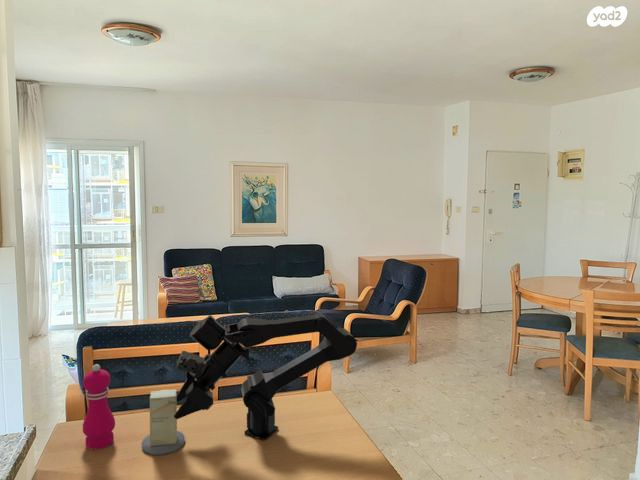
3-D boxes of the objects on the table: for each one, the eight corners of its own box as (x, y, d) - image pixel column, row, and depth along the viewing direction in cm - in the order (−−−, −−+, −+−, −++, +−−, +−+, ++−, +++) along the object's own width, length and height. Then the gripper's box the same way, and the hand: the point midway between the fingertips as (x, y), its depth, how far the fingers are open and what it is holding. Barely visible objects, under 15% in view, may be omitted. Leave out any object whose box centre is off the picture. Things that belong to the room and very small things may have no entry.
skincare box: (150, 446, 114) (148, 398, 113) (151, 437, 118) (149, 390, 117) (177, 443, 116) (176, 395, 114) (177, 434, 120) (176, 388, 119)
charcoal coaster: (193, 438, 119) (193, 435, 119) (163, 459, 111) (163, 456, 110) (163, 429, 124) (163, 426, 124) (132, 448, 115) (132, 445, 115)
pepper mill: (103, 452, 113) (99, 371, 110) (76, 448, 114) (72, 368, 112) (122, 436, 120) (118, 360, 117) (96, 433, 121) (92, 357, 119)
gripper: (195, 329, 125) (153, 373, 124) (196, 354, 107) (146, 407, 106) (227, 355, 128) (185, 399, 127) (233, 384, 110) (185, 435, 109)
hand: (175, 408), depth 117 cm, fingers open, 9 cm apart
